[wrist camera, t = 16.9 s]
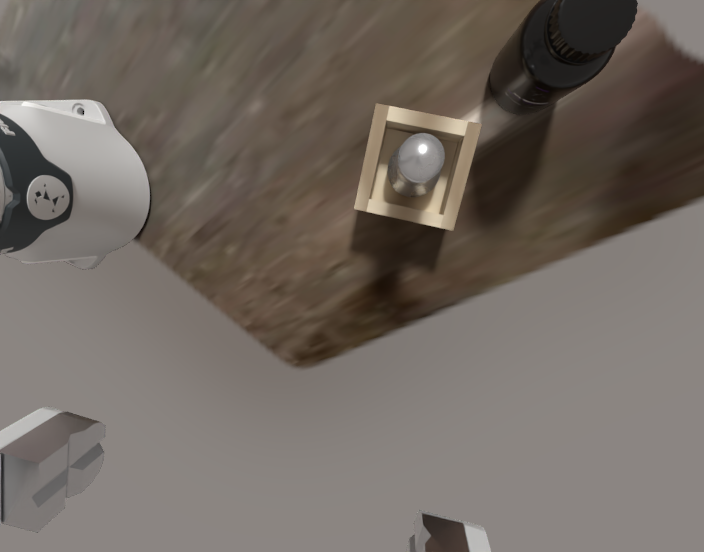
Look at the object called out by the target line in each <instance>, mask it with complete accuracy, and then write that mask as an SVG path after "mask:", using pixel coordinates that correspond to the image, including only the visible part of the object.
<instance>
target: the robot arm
mask: <svg viewBox="0 0 704 552" xmlns="http://www.w3.org/2000/svg"><path fill="white" fill-rule="evenodd" d="M83 110H84V115H83ZM149 204H150V188H149V182H148V177H147V174H146V171H145V168H144V166H143V163H142V161H141V159H140V158H139V156H138V154H137V153H136V151H135V150H134V149H133V147H132V146H131V145H130V144H129V143H128V142H127V141H126V140H125V139H124V138H123V137H122V136H121V135H120V133H119V132H118V131H117V130H116V129H115V127H114V125H113V122H112V120H111V118H110V116H109V114H108V112H107V110H106V109H105V107H104V106H103V105H102V104H101V103H100V102H97V101H92V100H39V101H0V254H5V256H7V257H10V258H14V259H17V260H20V262H21V263H23V264H37V263H48V262H58V261H64V262H66V263H69V264H71V265H73V266H75V267H77V268H80V269H93V268H95V267H96V266H97V265H98V264H99V263H100V262H101V261H102V260H103V258H104V257H105V256H106V255H107V254H108V253H110V252H112V251H114V250H116V249H119V248H120V247H123V246H125V245H126V244H127V243H129V242H130V241H131V240H133V239H134V238H135V237H136V235H137V234H138V233H139V232H140V230H141V228H142V227H143V225H144V223H145V220H146V218H147V214H148V210H149ZM104 437H105V425H104V424H103V423H101V422H99V421H95V420H92V419H89V418H85V417H82V416H79V415H76V414H73V413H69V412H64V411H61V410H58V409H55V408H51V407H44V408H40V409H38V410H37V411H35V412H33V413H31V414H29V415H28V416H26V417H24V418H22V419H21V420H19V421H17V422H15V423H14V424H12V425H10V426H9V427H7V428H5V429H3V430H1V431H0V525H1V523H3V524H6V525H10V526H14V527H18V528H21V529H25V530H29V531H33V532H36V533H38V532H39V531H40V530H41V529H42V528H43V527H44V526H45V525H46V524H48V523H49V522H50V521H51V520H52V519H53V518H54V517H55V516H56V515H58V513H60V512H61V511H62V510H63V509H64V508H65V505H66V501H67V498H69V497H71V496H74V495H77V494H79V493H81V492H83V491H84V490H85V489H86V488H87V487H88V486H89V485H90V484H91V483H92V482H93V480H94V479H95V477H96V476H97V474H98V473H99V471H100V469H101V466H102V463H103V459H104V451H103V449H102V447H101V445H100V444H99V442H100V441H101V440H102V439H103V438H104ZM414 531H415V535H413V536H412V537H410V539H409V541H408V545H407V549H406V552H491V549H490V546H489V542H488V539H487V535H486V532H485V530H484V528H483V527H482V526H480V525H476V524H472V523H468V522H464V521H459V520H455V519H451V518H448V517H444V516H440V515H437V514H433V513H429V512H425V511H422V510H419V512H418V513H417V515H416V518H415V521H414Z"/></svg>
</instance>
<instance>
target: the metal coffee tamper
mask: <svg viewBox="0 0 704 552" xmlns="http://www.w3.org/2000/svg"><path fill="white" fill-rule="evenodd" d="M444 159H445V152H444V148H443V146H442V144H441V142H440V141H439V140H438V139H437V138H436V137H434V136H433V135H430V134H427V133H419V134H415V135H412V136H411V137H409V138H408V139H407V140H406V141H405V142H404V143H403V144H402V146H401V147H399V148H398V149H397V150H396V151H395V152H394V153H393V154H392V156H391V158H390V160H389V163H388V171H387V172H388V178H389V182H390V184H391V186H392V187H393V189H394V190H395V191H396V192H398V193H399V194H401V195H403V196H406V197H419V196H422V195H424V194H426V193H428V192H429V191H431V190H432V189H433V188H434V187H435V185H436V184H437V182H438V180H439V178H440V174H441V168H442V166H443V164H444Z"/></svg>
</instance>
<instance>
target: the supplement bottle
mask: <svg viewBox="0 0 704 552" xmlns="http://www.w3.org/2000/svg"><path fill="white" fill-rule="evenodd" d="M637 4H638V3H637V0H540V1H539V2H538V3H537V4H536V5H535V6H534V7H533V8H532V10H531V11H530V12H529V13H528V15H527V16H526V17H525V19H524V20H523V21H522V23H521V24H520V26H519V27H518V28H517V30H516V31H515V32H514V34H513V35H512V36H511V38H510V39H509V40H508V42H507V43H506V44H505V46H504V47H503V48H502V50H501V51H500V53H499V54H498V56H497V57H496V59H495V61H494V63H493V66H492V69H491V74H490V87H491V91H492V94H493V96H494V98H495V100H496V101H497V103H498V104H499V105H500V106H501V107H502V108H504V109H505V110H507V111H509V112H511V113H514V114H521V115H525V114H532V113H535V112H538V111H540V110H542V109H544V108H546V107H548V106H549V105H551V104H553V103H554V102H556V101H558V100H559V99H561V98H563V97H564V96H566V95H568V94H569V93H571V92H572V91H574V90H576V89H577V88H579V87H581V86H582V85H584V84H586V83H587V82H589V81H590V80H591V79H593V78H594V77H595V76H596V75H598V74H599V73H600V72H601V71H602V69H603V68H604V67H605V66H606V65H607V63H608V62H609V60H610V58H611V57H612V55H613V53H614V50H615V48H616V45H618V44H619V43H620V42H621V40H622V39H623V38H625V37H626V35H627V33H628V31H629V30H630V29H631V28H632V24H633V22H634V21H635V15H636V13H637Z"/></svg>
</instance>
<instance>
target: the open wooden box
mask: <svg viewBox="0 0 704 552" xmlns="http://www.w3.org/2000/svg"><path fill="white" fill-rule="evenodd" d="M481 126H482V124H478V123H473V122H468V121H463V120H458V119H453V118H448V117H443V116H438V115H433V114H428V113H423V112H418V111H413V110H408V109H403V108H398V107H393V106H388V105H383V104H378V103H376V107H375V111H374V116H373V121H372V126H371V130H370V135H369V140H368V145H367V149H366V154H365V159H364V164H363V168H362V173H361V178H360V183H359V187H358V192H357V197H356V202H355V206H354V209H357V210H361V211H366V212H370V213H375V214H379V215H384V216H388V217H393V218H397V219H402V220H406V221H411V222H415V223H420V224H425V225H429V226H434V227H438V228H443V229H447V230H452V231H453V229H454V225H455V222H456V218H457V214H458V211H459V207H460V203H461V200H462V196H463V192H464V189H465V185H466V181H467V178H468V174H469V170H470V167H471V163H472V159H473V156H474V152H475V148H476V145H477V141H478V137H479V134H480V130H481ZM419 133H427V134H430V135H433V136H434V137H436V138H437V139H438V140H439V141H440V142H441V144H442V146H443V148H444V152H445V159H444V164H443V166H442V168H441V174H440V178H439V180H438V182H437V184H436V185H435V187H434V188H433V189H432V190H431V191H429V192H428V193H426V194H424V195H422V196H419V197H406V196H403V195H401V194H399V193H398V192H396V191H395V190H394V189H393V187H392V186H391V184H390V182H389V178H388V172H387V171H388V163H389V160H390V158H391V156H392V154H393V153H394V152H395V151H396V150H397V149H398V148H399V147H401V146H402V144H403V143H404V142H405V141H406V140H407V139H408V138H409V137H411V136H412V135H415V134H419Z"/></svg>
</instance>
